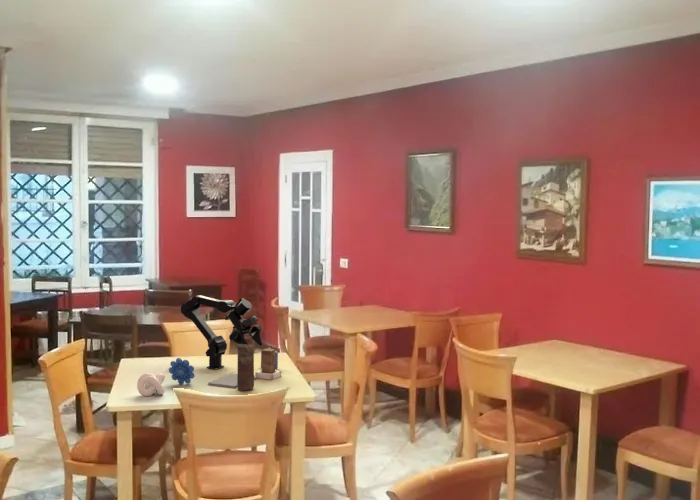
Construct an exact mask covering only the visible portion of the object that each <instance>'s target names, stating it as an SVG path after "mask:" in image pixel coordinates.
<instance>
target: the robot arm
mask: <svg viewBox="0 0 700 500" xmlns="http://www.w3.org/2000/svg"><path fill="white" fill-rule="evenodd" d="M202 305H203V306H205V307H210V308H214V309H216V310H217V311H219V312H220V313H222V314H225V313H228V314H225V318H224V320H225V321H230V322H231V324H232V325H233V327H232V329H233V331H232V332H231V333H230V334H229V335H228V336H229V337H228V339H229V340H230V342H233V343H235V344H237V345H238V344H246V345H247V344H249V343H248V342H247V340H246V338H245V335H249V336H250V338H251V339H252V340H253V341H254V342H255V343H256V344H257V345H258V346H260V347H261V346H263V342H262V338H261V332H262V330H263V327H262V326H261V325H259V324H257V323H258V322H259V320H258V317H256V315H252V316H251V317H249V318H243V316H246V314H247V313H248V312H249V311H250V310H251V309H252V304H251V302H250V301H249V300H247V299H245V297H242V298H240V299H239V300H238V301H237V302H235V301H234V300H232V299H217V298H213V297H210V296H209V297H208V296H205V295H202V294H200V295H195V296H193V297H192V298H191V299H190V300H188V301H187V302H185V303H182V304H181V306H180V313H181V314H182V315H183V316H184V317H185V318H187V319H188V320H191V322H192V323H193V324H194V326H195V327H196V328H197V329H198V330H199V332H200V333H201V335H203V337H204V339H205V340H206V341H207V347H208V349H207V350H206V351H205V356H206V357H208V366H206V369H213V370H219V369H222V368H224V367H225V365H222V363H223V362H222V360H223V359H222V356H223V355H225V353H226V351H227V349H228V343H227V340H225V338H224V337H223V336H222V335H216V333H215V332H214V331H213V329H212V328H211V327H210V326H209V324H208V323H207V322H206V321H205V320H204V317H202V315H201V314H200V313H201V312H200V307H201V306H202ZM253 325H254V326H253Z"/></svg>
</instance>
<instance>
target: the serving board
mask: <svg viewBox="0 0 700 500" xmlns="http://www.w3.org/2000/svg"><path fill="white" fill-rule="evenodd" d="M257 379H259V378H258V376H255V375H254V381H255V380H257ZM207 385H208V386H214V387H223V388H229V389H236V388H237V373H233V372H232V373H229V374H226V375H224V376H222V377H219V378H217V379H215V380H211V381H209V382H207ZM237 389H238V388H237Z"/></svg>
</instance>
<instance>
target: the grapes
mask: <svg viewBox="0 0 700 500" xmlns="http://www.w3.org/2000/svg"><path fill="white" fill-rule="evenodd" d="M169 365H170V366H169V368H168V373H170V374H171V380H173V381H177V383H178V384H179V385H183V384H184V383H185V384H188V385H189V384H190V383H191V382H192V381H191V380H192V379H195V376H196V374H195V373H194V371H195V367H194V366H193V365H192V364H190V362H189V360H188V359H182V358H181V357H178V358H176V360H171V361H170V363H169Z"/></svg>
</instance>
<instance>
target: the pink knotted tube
mask: <svg viewBox="0 0 700 500" xmlns="http://www.w3.org/2000/svg"><path fill="white" fill-rule="evenodd" d="M165 379H166V375H165V373H164V372H160V373H157V375H156V376H155V375H154V374H153V373H151V372H145V373H142V374H141V375H140V376H139V378H138V379H137V385H136V386H137V387H136V388H137V391H138V393H139V394H140V395H141V396H143V397H151V396H152V395H153V394H155V392H156V394H157V395H158V396H163V395H164V394H165V388H164V386H163V385H162V384H163V383H164V381H165Z"/></svg>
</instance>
